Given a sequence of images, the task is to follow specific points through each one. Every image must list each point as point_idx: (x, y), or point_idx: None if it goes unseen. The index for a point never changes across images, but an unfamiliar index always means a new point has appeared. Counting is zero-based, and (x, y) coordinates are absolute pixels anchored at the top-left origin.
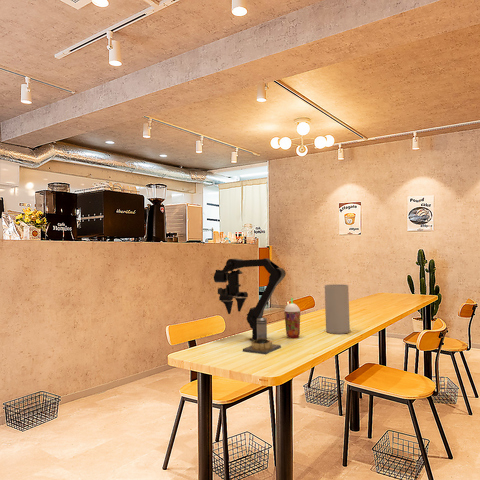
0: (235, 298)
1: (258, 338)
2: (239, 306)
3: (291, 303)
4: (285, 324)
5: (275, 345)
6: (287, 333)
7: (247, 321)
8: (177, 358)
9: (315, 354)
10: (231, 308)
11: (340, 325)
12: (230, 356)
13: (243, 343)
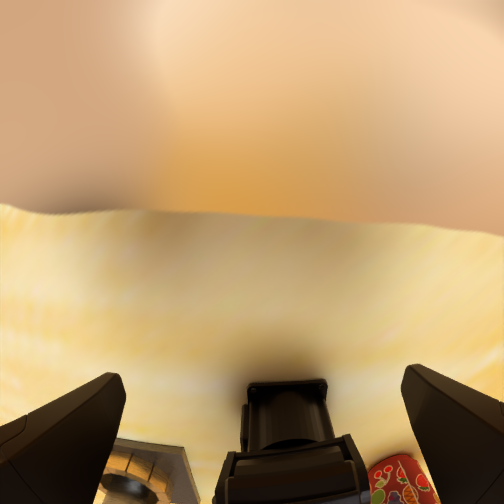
0: None
1: (105, 495)
2: (439, 437)
3: None
4: (400, 496)
5: (185, 498)
6: (373, 479)
7: (236, 465)
8: None
9: None
10: (98, 477)
11: None
12: (14, 409)
13: (160, 388)
